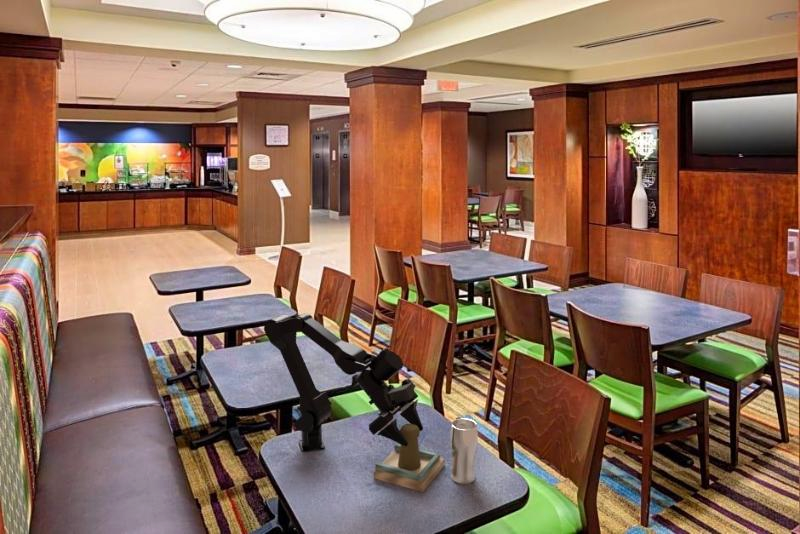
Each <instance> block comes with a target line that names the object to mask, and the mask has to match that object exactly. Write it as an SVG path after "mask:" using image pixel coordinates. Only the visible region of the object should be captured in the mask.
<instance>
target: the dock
mask: <svg viewBox="0 0 800 534" xmlns="http://www.w3.org/2000/svg"><path fill="white" fill-rule="evenodd" d="M400 447H401V444H399V443H395V444H394V450H393V451H392V452H391V453H390V454H389V455H388V456H387V457H386V458H384V460H383V461H382V462H380V461H379V462H376V463H375V464H374V465H375V469H374V470H373V479H374V480H375V479H376V480H379V481H382V482H386V483H390V484H393V485H397V486H399V487H404V488H408V489H411V490H414V491H417V492H418V491H419V492H422V493H424V491H425V490H426V489H427V488H428V486H430V484H431V483H432V482H433V480H434V479H435V478H436V476H437V475H438V474H439V473H440V472H441V471H442V470H443V468H444V466H445V458H443V457H440V455H441V454H440V453H436V452H432V451H428V450H424V449H420V448H419V454H420V462H421V467H420V468H419V469H417V470H414V471H409V470H405V469H401V468H399V467H398V461H399V454H400Z"/></svg>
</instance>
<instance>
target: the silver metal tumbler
mask: <svg viewBox="0 0 800 534" xmlns="http://www.w3.org/2000/svg"><path fill="white" fill-rule="evenodd" d="M478 431H479V430H478V423H477V422H476V421H475V420H473V419H470V418H465V417H463V418H462V417H461V418H456V419H454V420H453V421H451V426H450V436H449V437H450V440H449V441H450V443H449V444H450V451H451V457H452V458H451V459H452V470H451V476H450V477H451V479H452V481H453V482H455V483H456V484H460V485H468V484H471V483H473V482H474V481H475V479H476V477H475V476H476V475H475V469H474V468H475V467H474V465H475V458H476V455H477V451H478V442H479V440H478V439H479V438H478V437H479V433H478Z"/></svg>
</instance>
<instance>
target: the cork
mask: <svg viewBox="0 0 800 534" xmlns="http://www.w3.org/2000/svg"><path fill="white" fill-rule="evenodd" d="M399 430H400V431H401V433H402V434H403V436H404V437H405V439H406V440H407V442H408V445H407V446H406V447H405V446H403V445H401V444H400V445H401V447H400V454H399V461H398V467H399V468H401V469H405V470H409V471H414V470H417V469H419V468H420V467H421V462H420V454H419V449H420V448H419V447H420V446H419V437H420V434H421V431H420V430H419V428H418V426H416V425H414V424H410V423H405V424H402V426H401V427H400V428H399Z"/></svg>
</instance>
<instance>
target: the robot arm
mask: <svg viewBox="0 0 800 534" xmlns="http://www.w3.org/2000/svg"><path fill="white" fill-rule="evenodd" d="M263 331H264V334H265V335H266V337H267V338H268V341H269V342H270V343H271V344H272V345H273V346H274V347H275V348H277V349H278V350H279V351H280V354H281V356H282V358H283V361H284V363H285V364H286V368H287V370H288V372H289V375H290V377H291V380H292V381H293V384H294V385H295V388H296V390H297V393H298V395H299V410H300V411H299V412H300V414H301V416H300V417H299V418H298V419H296V421H295V422H293V425H294V428H295V430H296V431H299V432H301V439H299V440H298V443H299V446H300V448H301V451H302V452H303V453H305V452H311V451H313V452H314V451H317V450H318V451H319V450H323V449H326V446H325V445H326V444H325V442H324V440H323V431H322V428H323V427H322V424H323V423H325V422H327V419H328V418H329V417H330V416H331V413H332V411H333V410H332V405H333V404H332V402H331V401H330V398H329V396H328V393H327V392H326V391H324V392H321V391H319V389H318V388H317V387H316V385H315V382H314V381H313V378H312V376H311V373H310V372H309V369H308V367H307V365H306V363H305V360H304V357H303V355H302V353H301V351H300V349H299V348H300V347H298V344H297V335H298V334H297V332H298V331H299V332H300V333H302V334H303V335H305V336H306V337H307V338H308V339H310V340H311V341H312V342H314V343H315V344H316V345H318V346H319V347H320V348H321V349H323V350H324V351H325V352H327V353H328V354H329V355H330V356H331V357H332V358H333V361H334V363H335V365H336V366H337V367H338V368H339V369H340V370H341V371H342V372H343V373H344V374H345V375H348V376H351V375H353V376H351V387H352V388H355V387H356V386H357V385H359V387H360V388H361V389H362V390H363V392H364V394H366V396H367V397H368V398H369V399H370V400H368V403H369V405H371V406H372V405H374V406H375V407H376V408H377V409H378V411H379V413H378V414H377V415H378V417H376V418H375V419H374V420H373V421H371V422H370V423H369V424H368V430H369V431H370V432H371V434H372V435H373V436H375V435H377V436H382V437H383V438H385V439H388V440H389V439H390V440H391V441H393V442H395V443H396V444H400V445H403V446H405V447H406V446H407V445H408V442H407V440H406V439H405V437H404V436H403V434H402V433H401V431H400V428H399V427H398V423H397V421H398V420H397V418H395V419H394V416H395V415H396V414H397V413H398V412H400V413H399V416H401V417H402V418H403V419H404V420H406V421H407V422H408V424H414V425H416V426H418V428H419V430H420V432H422V431H423V430H424V426H423V423H422V421H421V419H420V417H419V412H418V411H417V407H418V402H419V399H418V397H419V395H418V394H417V392H416V391H415V388H416V387H417V386H416V384H414V382H413V381H412V380H411V379H410V378H405V379H403V380H402V381H401V385H399V386H396V387H395V386H394V384H390V383H389V384H387V382H388V381H389V380H390V379H391V378H393V377H394V376H395V375H396V374H398V372H399V371H401V370H402V369H403V368H404V362H403V360H402V357H401V356H400V355H399V354H398V353H395V352H394V351H391V350H389V349H388V348H387V347H385V348H383V349H382V350H380V351H379V353H378V354H377V355H376V354H373V353H370V352H367V351H366V350H365V349H363V348H362V347H360V346H359V345H357V344H354V343H351V342H347V341H345V340H342V339H341V338H339V336H337V335H336V334H334V333H333V332H331V331H330V330H329V329H328V328H327V327H325V326H324V325H323V324H321V323H320V322H318V321H317V320H315V318H313V316H312V315H311V314H310V313H305V312H304V313H302V314H294V315H287V314H286V313H283V314H280V315H278V316H275V317H273V318H269V319H267V321H266V322H265V323H264V327H263ZM368 368H369V369H368ZM357 373H359V374H357Z"/></svg>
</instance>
